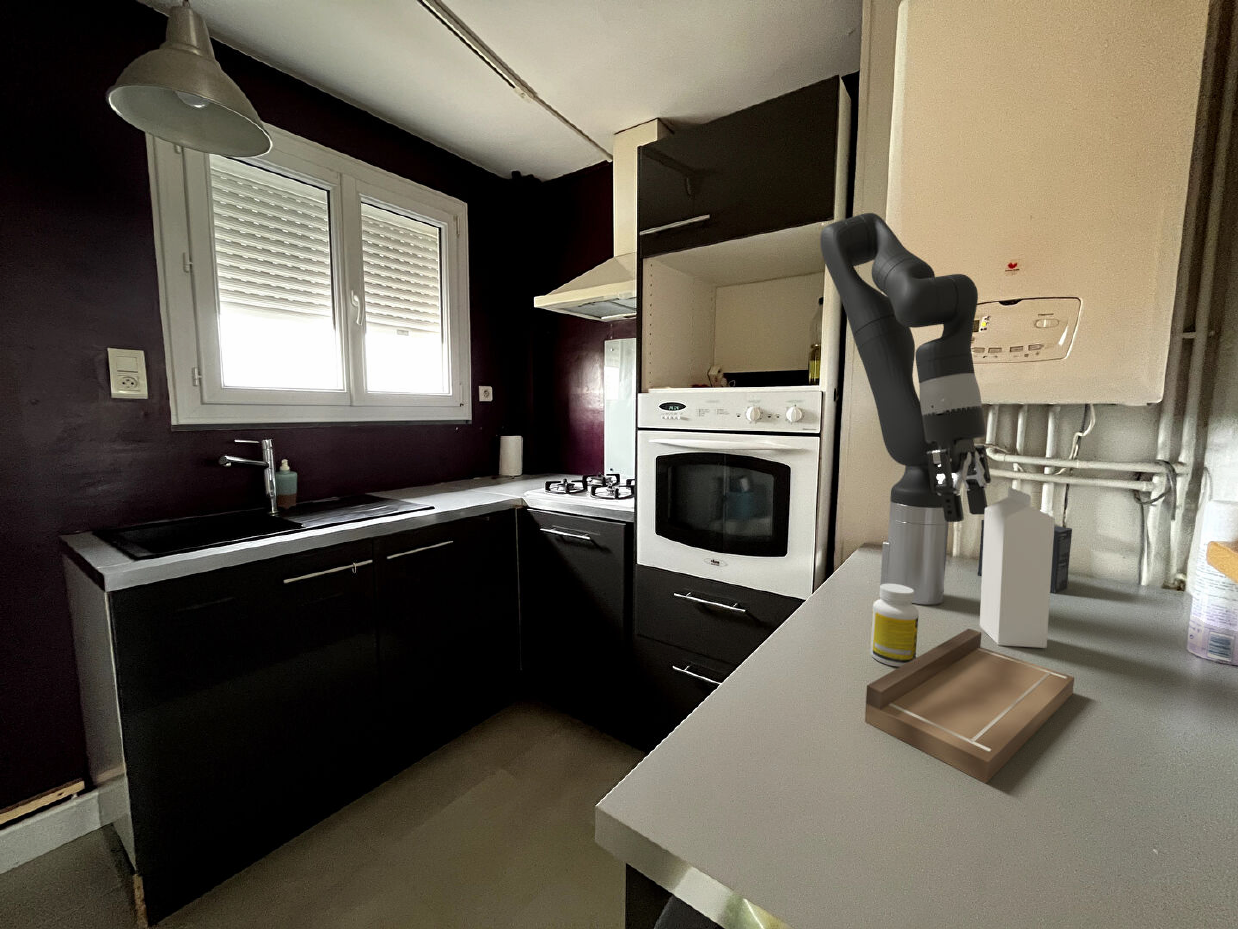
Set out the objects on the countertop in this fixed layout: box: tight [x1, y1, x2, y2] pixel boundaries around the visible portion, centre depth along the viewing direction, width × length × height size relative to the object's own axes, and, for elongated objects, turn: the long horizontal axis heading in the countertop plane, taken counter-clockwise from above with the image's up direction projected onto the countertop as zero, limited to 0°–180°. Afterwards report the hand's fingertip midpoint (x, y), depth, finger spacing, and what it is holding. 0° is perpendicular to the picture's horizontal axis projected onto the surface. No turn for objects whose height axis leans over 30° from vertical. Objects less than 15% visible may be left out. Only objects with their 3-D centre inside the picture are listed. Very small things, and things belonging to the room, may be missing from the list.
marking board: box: [864, 628, 1075, 784], centre depth 56 cm, size 11×26×4 cm, turn 125°
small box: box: [977, 519, 1073, 594], centre depth 100 cm, size 13×7×12 cm, turn 32°
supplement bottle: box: [869, 584, 919, 668], centre depth 67 cm, size 5×5×10 cm
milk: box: [979, 487, 1056, 649], centre depth 72 cm, size 6×6×22 cm
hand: (967, 517), depth 73 cm, fingers open, 8 cm apart
